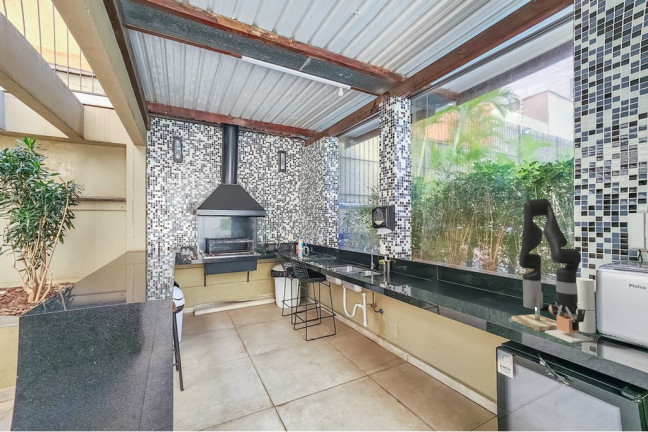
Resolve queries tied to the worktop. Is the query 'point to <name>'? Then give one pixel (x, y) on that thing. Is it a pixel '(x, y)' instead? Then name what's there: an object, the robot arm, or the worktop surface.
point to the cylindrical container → (586, 304)
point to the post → (537, 313)
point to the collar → (565, 324)
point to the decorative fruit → (555, 310)
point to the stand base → (536, 322)
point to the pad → (569, 336)
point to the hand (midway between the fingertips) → (567, 327)
